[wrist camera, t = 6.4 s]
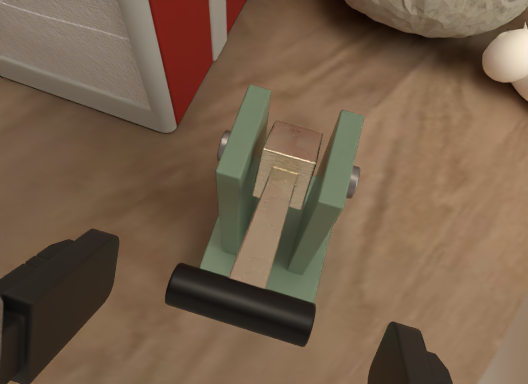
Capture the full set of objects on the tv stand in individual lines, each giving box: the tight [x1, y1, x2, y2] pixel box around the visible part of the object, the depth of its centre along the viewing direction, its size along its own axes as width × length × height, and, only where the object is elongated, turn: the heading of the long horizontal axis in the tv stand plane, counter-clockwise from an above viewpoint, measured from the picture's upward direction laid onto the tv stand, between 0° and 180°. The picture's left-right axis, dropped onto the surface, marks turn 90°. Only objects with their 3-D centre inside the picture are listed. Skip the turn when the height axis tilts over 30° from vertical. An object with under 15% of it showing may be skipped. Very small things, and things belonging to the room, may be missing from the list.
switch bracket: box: [199, 85, 364, 303], centre depth 22 cm, size 9×7×12 cm
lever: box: [165, 121, 323, 347], centre depth 15 cm, size 10×4×2 cm, turn 164°
